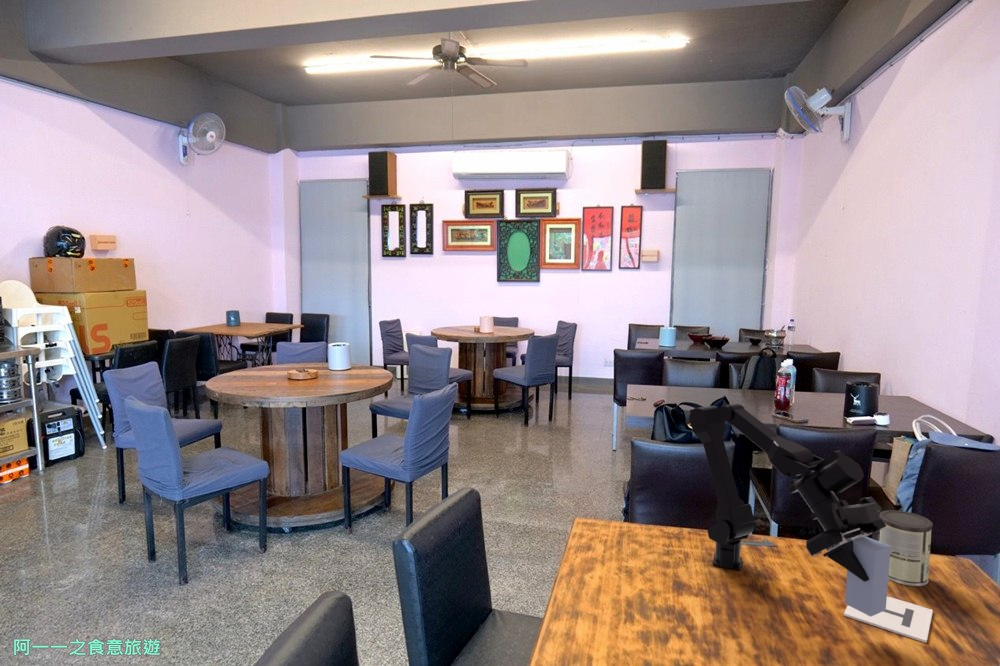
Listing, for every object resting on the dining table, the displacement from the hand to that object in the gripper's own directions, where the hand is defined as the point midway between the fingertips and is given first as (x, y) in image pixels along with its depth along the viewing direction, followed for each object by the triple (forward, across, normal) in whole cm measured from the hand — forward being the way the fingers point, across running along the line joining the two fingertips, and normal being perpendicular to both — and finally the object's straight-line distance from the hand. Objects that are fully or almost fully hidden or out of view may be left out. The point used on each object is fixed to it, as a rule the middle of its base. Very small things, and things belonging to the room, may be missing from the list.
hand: (874, 577), depth 112 cm
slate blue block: (+4, 0, +6) cm, 7 cm away
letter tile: (+7, +12, +11) cm, 18 cm away
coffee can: (+1, +32, +17) cm, 36 cm away
